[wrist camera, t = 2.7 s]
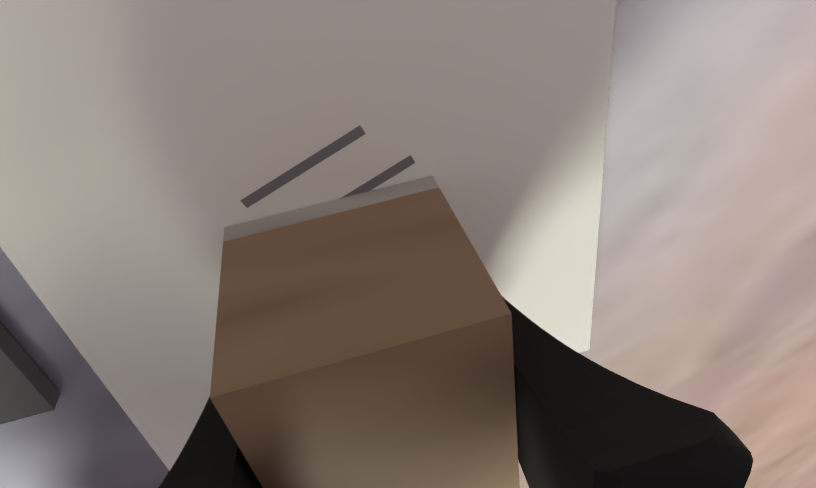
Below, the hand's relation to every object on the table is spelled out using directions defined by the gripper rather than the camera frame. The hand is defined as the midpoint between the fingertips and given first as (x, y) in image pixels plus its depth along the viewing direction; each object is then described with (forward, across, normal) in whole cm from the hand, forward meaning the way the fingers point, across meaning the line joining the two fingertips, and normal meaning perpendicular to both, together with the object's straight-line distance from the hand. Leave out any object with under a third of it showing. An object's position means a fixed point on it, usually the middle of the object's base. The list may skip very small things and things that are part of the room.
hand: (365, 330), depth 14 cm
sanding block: (+1, 0, 0) cm, 1 cm away
